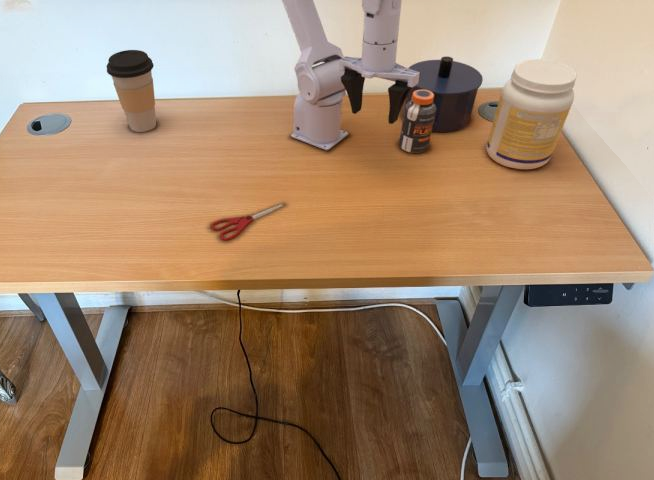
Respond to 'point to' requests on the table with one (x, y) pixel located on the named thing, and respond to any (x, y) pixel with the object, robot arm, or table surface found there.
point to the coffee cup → (134, 87)
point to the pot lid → (447, 77)
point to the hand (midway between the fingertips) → (374, 116)
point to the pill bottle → (418, 122)
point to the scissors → (238, 223)
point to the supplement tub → (531, 113)
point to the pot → (449, 110)
